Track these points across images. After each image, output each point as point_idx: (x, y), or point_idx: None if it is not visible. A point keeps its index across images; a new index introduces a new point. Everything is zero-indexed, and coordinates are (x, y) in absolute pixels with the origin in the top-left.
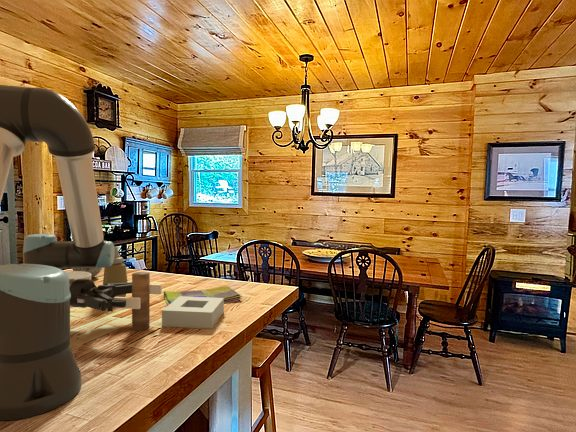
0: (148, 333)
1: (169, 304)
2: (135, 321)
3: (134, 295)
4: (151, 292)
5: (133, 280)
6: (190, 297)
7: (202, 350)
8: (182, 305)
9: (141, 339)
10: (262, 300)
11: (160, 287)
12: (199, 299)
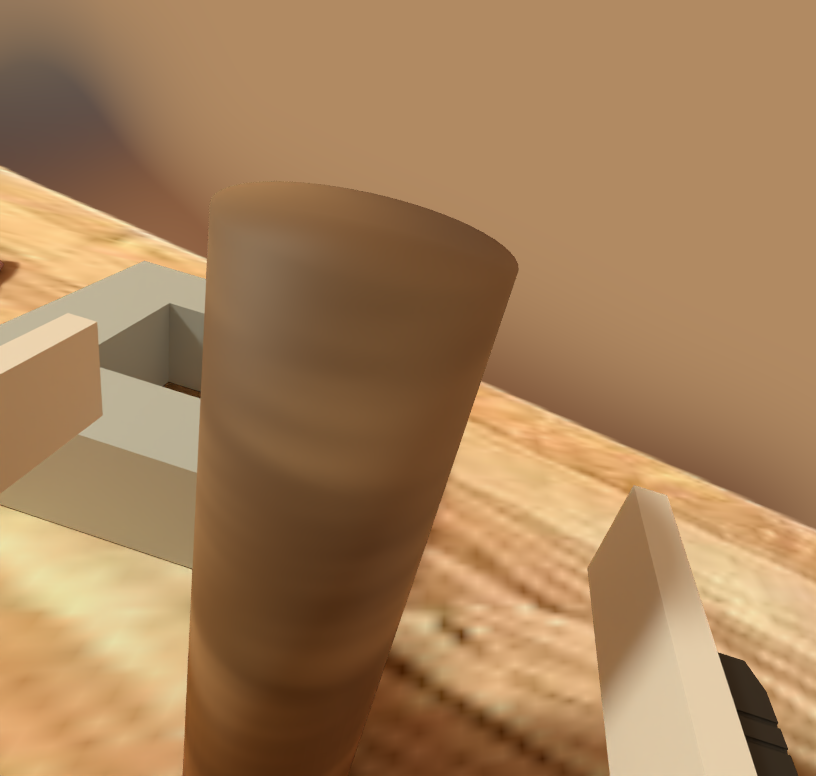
0: (406, 681)
1: (131, 450)
2: (354, 754)
3: (412, 568)
4: (20, 460)
5: (463, 387)
6: (5, 337)
7: (608, 463)
8: (182, 398)
9: (525, 722)
10: (51, 229)
11: (97, 347)
12: (101, 319)
